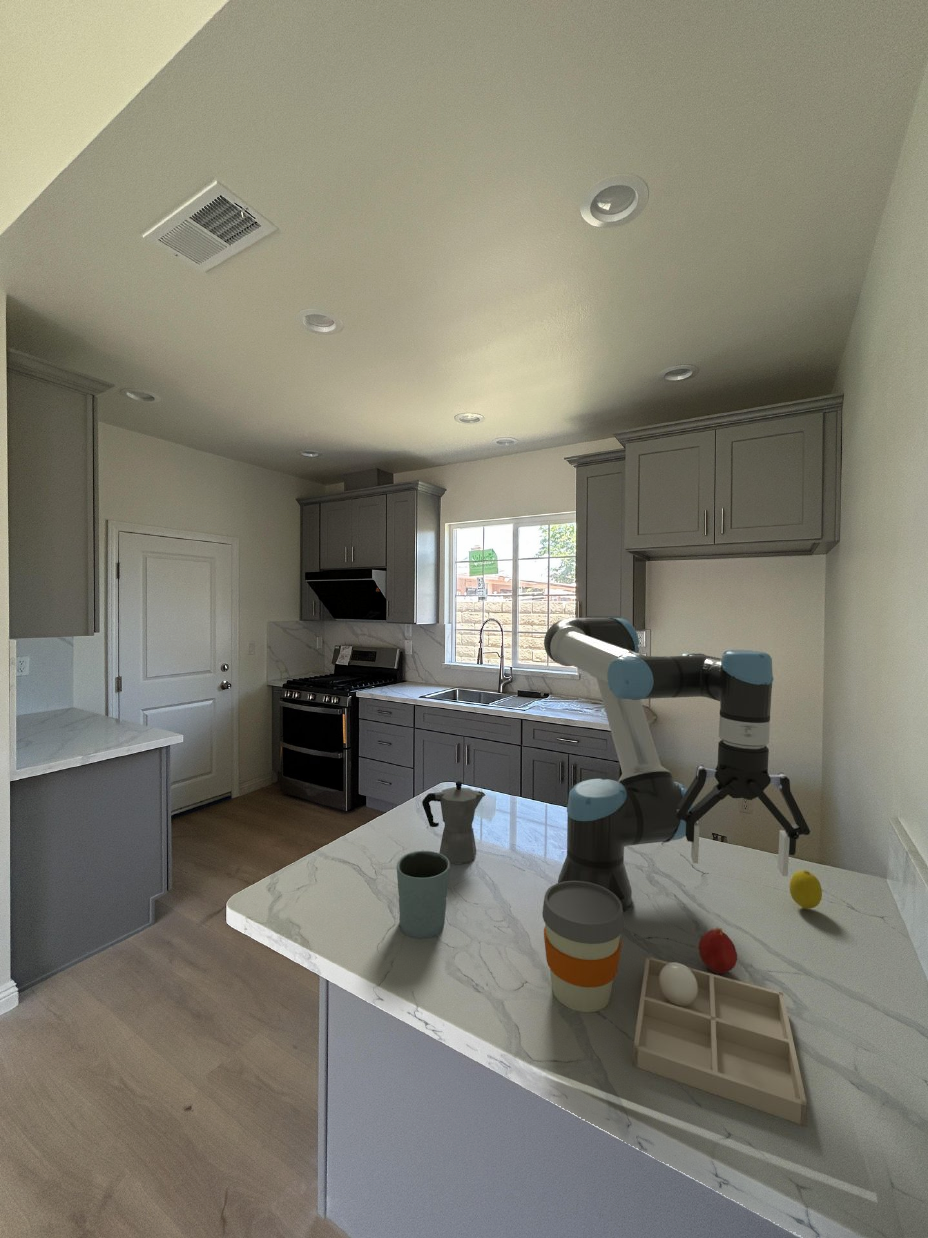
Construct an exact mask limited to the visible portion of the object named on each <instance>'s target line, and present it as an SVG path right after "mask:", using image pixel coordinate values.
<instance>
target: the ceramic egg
mask: <svg viewBox="0 0 928 1238" xmlns="http://www.w3.org/2000/svg"><path fill="white" fill-rule="evenodd" d="M688 967H689V966H688ZM688 967H687V966H686V965H684V964H683V963H681V962H677V961H675V962H670V963H669V964H667V965H665V966H664V967H663V968H662V970H661V972H660V975H659V985H660V988H661V991H662V993H663V994H664V996H665V997H666V998H667V999H668V1000H669V1001H670V1002H671V1003H673V1004H675V1005H678V1006H687V1005H690V1004H691V1003H692V1002H693V1001H694V1000H695V999H696V997H697V993H698V984H697V981H696V978H695V976H694V974H693V973H692V971H691V970H690V969H689V968H690V967H689V968H688Z"/></svg>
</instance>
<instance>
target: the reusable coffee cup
mask: <svg viewBox="0 0 928 1238" xmlns="http://www.w3.org/2000/svg"><path fill="white" fill-rule="evenodd" d="M541 915H542V919H543V922H544V924H545V925H544V928H543V939H544V940H543V941H544V950H545V956H546V963H547V966H548V967H549V971H550V980H551V981H550V982H551V989H552V992H553V994H554V996H555V998H556V999H557V1000H558V1002H559V1003H561V1004H562V1005H564V1006H565V1007H567V1008H568V1009H571V1010H574V1011H577V1012H582V1013H592V1012H593V1013H594V1012H597V1011H601V1010H602V1009H603V1008H606V1006H607V1005H608V1004H609V1001H610V999H611V995H612V994H611V993H612V987H613V983H614V979H615V978H616V976H617V974H618V969H619V963H620V957H621V951H622V939H621V934H622V933H623V931H624V928H625V927H624V926H625V923H624V920H625V919H624V912H623V908H622V903H621V901H620V900H619V898H618V897H617V896H616V895H615V894H614V893H613V892H611V891H610V890H608V889H606V888H604V887H602V886H600V885H597V884H594V883H590V882H584V881H565V882H560V883H558V882H557V883H555V884H552V885H551V886H549V887H548V888H547V890H546V891H545V893H544V899H543V905H542V913H541Z"/></svg>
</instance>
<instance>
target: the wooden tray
mask: <svg viewBox="0 0 928 1238" xmlns="http://www.w3.org/2000/svg"><path fill="white" fill-rule="evenodd" d="M644 963H645V964H644V970H643V978H642V984H641V991H640V997H639V998H640V999H639V1005H638V1012H637V1019H636V1026H635V1033H634V1041H633V1046H632V1049H633V1050H632V1067H634V1068H638V1069H641V1070H643V1071H646V1072H650V1073H652V1074H655V1075H658V1076H661V1077H662V1078H666V1079H669V1080H672V1081H675V1082H677V1083H681V1084H683V1085H685V1086H690V1087H691V1088H692V1087H693V1088H695V1089H697V1090H700V1091H704V1092H706V1093H710V1094H711V1095H715V1096H717V1097H719V1098H720V1097H721V1098H723V1099H726V1100H729V1101H732V1102H736V1103H738V1104H739V1105H740V1104H741V1105H743V1106H747V1107H748V1108H749V1107H750V1108H752V1109H755V1110H758V1111H760V1112H763V1113H767V1114H769V1115H772V1116H775V1117H778V1118H781V1119H784V1120H787V1121H789V1122H792V1123H794V1124H799V1125H801V1126H804V1127H807V1123H808V1122H807V1120H808V1118H807V1117H808V1103H807V1098H806V1094H805V1089H804V1085H803V1079H802V1075H801V1070H800V1065H799V1061H798V1057H797V1052H796V1047H795V1043H794V1038H793V1032H792V1029H791V1028H792V1027H791V1024H790V1019H789V1014H788V1010H787V1006H786V1005H787V1004H786V1000H785V996H784V992H781V991H778V990H774V989H771V988H766V987H763V986H759V985H755V984H752V983H748V982H745V981H744V982H743V981H740V980H737V979H734V978H729V977H726V976H721V975H720V974H716V973H715V974H714V973H712V972H707V971H703V970H699V969H695V968H692V967H689V966H688V968H689V969H690V970H691V971H692V973H693V974H694V976H695V978H696V981H697V984H698V993H697V997H696V999H695V1000H694V1001H693V1002H692V1003H691V1004H690V1005H687V1006H678V1005H675V1004H673V1003H671V1002H670V1001H669V1000H668V999H667V998H666V997H665V996H664V994H663V993H662V991H661V988H660V985H659V975H660V972H661V970H662V968H663V967H664V966H665V965H667V964H669V963H671V962H670V961H666V960H662V959H658V958H656V957H655V958H654V957H651V956H647V955H646V957H645V962H644Z"/></svg>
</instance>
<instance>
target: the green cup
mask: <svg viewBox="0 0 928 1238" xmlns="http://www.w3.org/2000/svg"><path fill="white" fill-rule="evenodd" d="M450 864H451V863H449V860H448V859H447V858H446V857H445V856H444V855H442V854H440V853H439V852H438V851H432V850H416V851H411V852H408V853H406V854H404V855H402V856H401V857H400V858H399V859H398V860H397V863H396V876H397V877H396V878H397V885H398V886H397V887H398V888H397V890H398V891H397V892H398V907H399V920H398V921H399V926H400V929H401V932H402V933H404V934H405V935H407V936H408V937H411V938H416V939H426V938H430V937H434V936H436V935H438V934H439V933H440V932H441V931H442V930H443V929H444V926H445V923H446V922H445V920H446V909H447V897H448V888H449V878H450V877H449V876H450V866H451V865H450Z"/></svg>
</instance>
